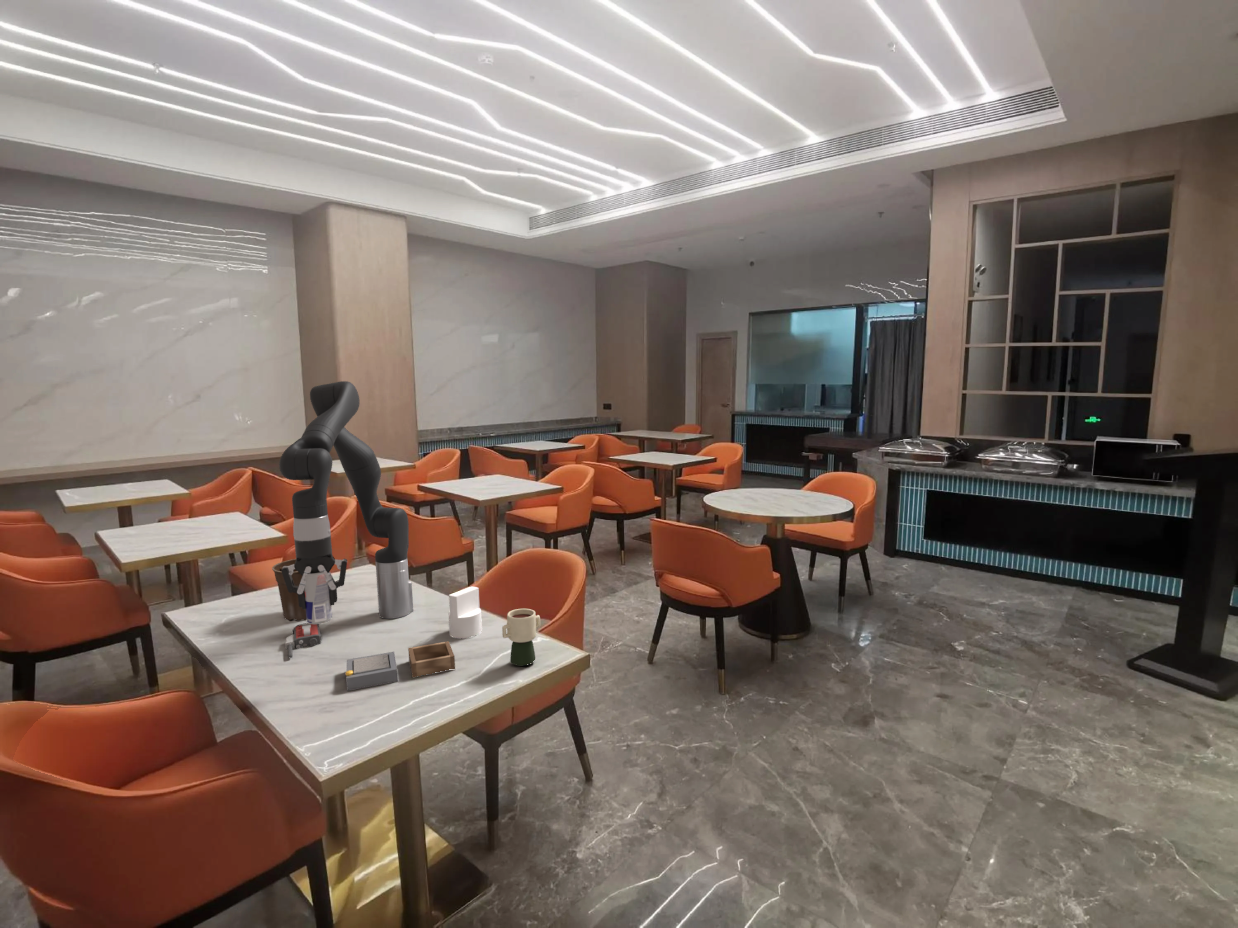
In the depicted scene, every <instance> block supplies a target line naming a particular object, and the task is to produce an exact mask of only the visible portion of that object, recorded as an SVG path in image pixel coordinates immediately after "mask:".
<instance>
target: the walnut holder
mask: <svg viewBox="0 0 1238 928" xmlns="http://www.w3.org/2000/svg"><path fill="white" fill-rule="evenodd" d="M407 650H408V663H409V666H410V667H409V668H410V671H411V677H412V678H413V677H414V678H418V677H417V676H419V677H422V676H421V675H424V676H427V675H426V674H430V675H433V674H432V673H435V672H440V671H445V670H449V669H455V670H456V663H455V662H456V658H455V653H454V651H453V649H452V646H451V644H450V642H449V641H442V642H436V643H430V644H425V645H418V646H411V647H408V648H407ZM445 672H446V671H445ZM440 673H441V672H440ZM435 674H436V673H435Z"/></svg>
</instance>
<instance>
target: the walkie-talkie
mask: <svg viewBox="0 0 1238 928" xmlns="http://www.w3.org/2000/svg"><path fill="white" fill-rule="evenodd" d="M284 644H285V646H284V647H285V650H286V651H287V657H288V658H293V649H300V648H301V649H302V648H306V647H311V646H312V647H314V646H316V645H321V644H322V633H321V629H320V624H309V623H308V622H306V623H300V624H297V625H296V626H294V627H293V629H292V634H291V635H288V636H286V638H285V642H284Z"/></svg>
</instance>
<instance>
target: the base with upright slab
mask: <svg viewBox="0 0 1238 928" xmlns="http://www.w3.org/2000/svg"><path fill="white" fill-rule="evenodd" d="M479 589H480V588H479V587H477V586H468V587H466V588H463V589H461V590H459V591H456V592H453V593H451V594H450V593H449V594H448V600H449V612H448V627H449V628H448V630H449V636H450V635H451V636H453V637H452V638H454V637H455V638H454V639H461V638H462V639H467V638H466V637H471V636H474V637H476V636H475V635H477V634H479V635H481V633H482V632H483V621H482V609H481V608H480V607H481V606H480V590H479ZM481 631H482V632H481ZM451 636H450V637H451ZM477 636H478V635H477ZM471 638H472V637H471Z"/></svg>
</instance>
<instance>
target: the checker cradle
mask: <svg viewBox="0 0 1238 928" xmlns="http://www.w3.org/2000/svg"><path fill="white" fill-rule="evenodd" d="M384 654H388V660H389V669H383V670H378V671H372V672H367V673H361V674H355V675H354V660H355V659H361V658H367V657H373V656H379V655H384ZM397 667H398V666H397V660H396V655H395V651H390V652H389V651H388V652H383V653H378V654H371V655H365V656H361V657H353V658H348V659H346V671H345V676H346V677H345V680H346V691H347V692H349V691H355V690H359V689H364V688H369V687H375V686H380V685H386V684H391V683H397V682H398V679H399V678H398V677H399V676H398V668H397ZM396 681H397V682H396Z"/></svg>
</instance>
